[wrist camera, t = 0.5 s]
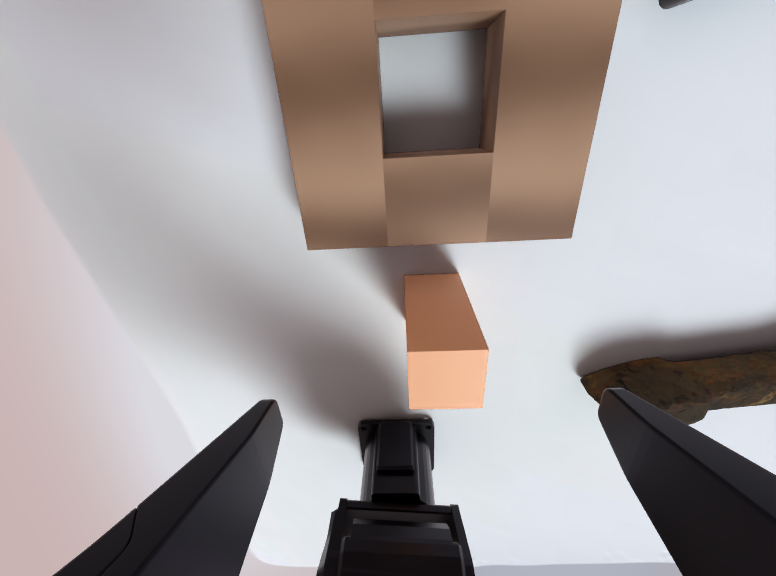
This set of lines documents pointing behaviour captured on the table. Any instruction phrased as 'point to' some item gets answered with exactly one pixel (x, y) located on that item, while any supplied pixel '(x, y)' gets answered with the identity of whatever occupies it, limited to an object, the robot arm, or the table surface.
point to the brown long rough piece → (692, 383)
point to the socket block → (440, 167)
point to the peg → (443, 344)
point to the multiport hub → (671, 3)
